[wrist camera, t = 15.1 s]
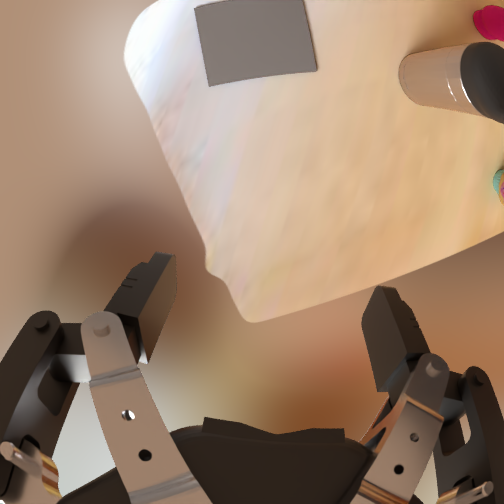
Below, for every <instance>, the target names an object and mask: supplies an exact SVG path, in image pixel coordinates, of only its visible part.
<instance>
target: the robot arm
mask: <svg viewBox="0 0 504 504" xmlns="http://www.w3.org/2000/svg"><path fill="white" fill-rule="evenodd" d="M399 80H400V84H401V86H402V89H403V90H404V92H405V94H406V95H407V96H408V97H409V98H410V99H411V100H412V101H414V102H415V103H417V104H419V105H423V106H429V107H435V108H442V109H447V110H453V111H458V112H464V113H468V114H473V115H478V116H482V117H487V118H490V119H493V120H495V121H497V122H500V123H503V124H504V49H503V48H502V47H500V46H499V45H496V44H494V43H490V42H478V43H471V44H463V45H457V46H451V47H445V48H439V49H434V50H428V51H423V52H418V53H414V54H411V55H408V56H407V57H405V58H404V59H403V61H402V62H401V64H400V67H399ZM176 290H177V278H176V256H175V255H174V254H168V253H162V252H155V254H154V255H153V257H152V258H151V260H150V261H149V263H143V262H141V263H140V264H138V265H137V266H135V267H134V268H132V269H131V271H130V272H129V274H128V275H127V277H126V279H124V281H123V282H122V284H121V286H120V287H119V288H118V290H117V291H116V293H115V294H114V296H113V297H112V299H111V300H110V302H109V303H108V305H107V306H106V308H105V309H104V311H101V312H96V313H93V314H91V315H89V316H88V317H87V318H86V319H85V320H84V321H83V323H61V322H60V319H59V317H58V316H57V314H56V313H54V312H52V311H40V312H37V313H35V314H34V315H32V316H31V317H30V318H29V319H28V320H27V322H26V323H25V325H24V326H23V328H22V329H21V331H20V332H19V334H18V335H17V337H16V339H15V340H14V341H13V343H12V345H11V346H10V348H9V350H8V351H7V353H6V354H5V356H4V357H3V359H2V361H1V363H0V502H2V503H5V504H423V502H422V501H421V500H420V499H419V498H417V496H416V495H414V494H413V493H414V491H415V489H416V487H417V485H418V483H419V481H420V479H421V477H422V475H423V472H424V470H425V468H426V466H427V463H428V461H429V459H430V456H431V454H432V451H433V455H434V461H435V469H436V477H437V486H438V496H439V498H438V500H437V502H436V504H504V419H503V416H502V413H501V410H500V407H499V404H498V401H497V398H496V396H495V393H494V390H493V387H492V385H491V382H490V380H489V377H488V376H487V374H486V373H485V372H484V371H483V370H482V369H480V368H479V367H475V366H472V367H469V368H468V369H467V370H466V371H465V372H464V374H459V373H456V372H452V371H449V367H448V365H447V363H446V362H445V361H444V360H443V359H442V358H441V357H439V356H438V355H436V354H432V353H431V352H430V350H429V348H428V345H427V343H426V340H425V338H424V336H423V334H422V331H421V329H420V328H419V325H418V322H417V321H416V318H415V316H414V313H413V311H412V309H411V308H410V307H409V306H408V305H407V304H406V303H405V302H404V301H402V300H401V298H400V296H399V294H398V292H397V290H396V288H394V287H386V286H377V287H376V288H375V290H374V292H373V294H372V296H371V298H370V301H369V303H368V305H367V307H366V309H365V311H364V313H363V317H362V330H363V334H364V338H365V342H366V345H367V350H368V354H369V357H370V362H371V366H372V370H373V374H374V379H375V383H376V388H377V392H388V393H389V397H388V398H387V399H386V400H385V402H384V404H383V405H382V407H381V409H380V411H379V413H378V414H377V416H376V418H375V419H374V421H373V423H372V425H371V426H370V428H369V429H368V431H367V432H366V434H365V435H364V437H363V438H362V439H361V440H360V441H359V442H356V441H354V440H352V439H349V438H345V434H344V428H342V429H320V428H318V429H317V428H312V429H306V430H301V431H296V432H291V433H284V434H272V433H269V432H266V431H263V430H260V429H257V428H254V427H251V426H248V425H246V424H243V423H239V422H233V421H226V420H220V419H213V418H208V417H205V418H204V422H203V425H196V426H189V427H184V428H180V429H177V430H175V431H172V432H170V433H169V432H168V430H167V428H166V426H165V424H164V422H163V420H162V418H161V416H160V414H159V412H158V409H157V407H156V405H155V403H154V401H153V399H152V396H151V394H150V392H149V390H148V387H147V385H146V383H145V380H144V378H143V376H142V373H141V371H140V369H139V368H138V367H137V364H138V362H142V363H146V364H148V363H149V360H150V358H151V355H152V353H153V350H154V348H155V345H156V343H157V340H158V338H159V336H160V333H161V331H162V328H163V326H164V324H165V321H166V319H167V317H168V314H169V312H170V310H171V307H172V305H173V303H174V300H175V296H176ZM80 382H88V383H89V386H90V390H91V394H92V398H93V402H94V405H95V408H96V412H97V415H98V418H99V421H100V424H101V427H102V430H103V433H104V436H105V439H106V441H107V444H108V447H109V450H110V452H111V455H112V457H113V460H114V462H115V465H116V467H115V468H113V469H111V470H110V471H108V472H106V473H105V474H103V475H101V476H100V477H98V478H96V479H95V480H92V481H91V482H89V483H87V484H85V485H84V486H82V487H80V488H78V489H76V490H74V491H72V492H70V493H68V494H67V495H65V496H64V497H62V496H61V494H60V492H59V488H58V477H59V475H58V469H57V467H56V465H55V463H54V462H53V460H52V456H53V453H54V449H55V446H56V444H57V441H58V438H59V435H60V432H61V429H62V427H63V424H64V422H65V419H66V416H67V414H68V411H69V409H70V406H71V404H72V401H73V399H74V396H75V394H76V391H77V389H78V387H79V384H80ZM464 414H466V415H467V418H468V422H469V426H470V430H471V436H470V440H469V441H468V442H467V443H466V444H465V441H464V437H463V432H462V428H461V424H460V420H459V419H460V418H461V417H462V416H464Z"/></svg>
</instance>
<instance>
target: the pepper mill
mask: <svg viewBox="0 0 504 504" xmlns="http://www.w3.org/2000/svg"><path fill="white" fill-rule="evenodd" d="M473 20H474V23H475V26H476V28H477V30H478V31H479V33H480V34H481V35H482V36H483V37H485V38H486V39H489V40H495V39H498V40H500V41H504V8H501V7H499V6H494V5H489V6H486V7H484V9H483V10H478V11H476V12H475V13H474V15H473Z"/></svg>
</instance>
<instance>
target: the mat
mask: <svg viewBox="0 0 504 504" xmlns="http://www.w3.org/2000/svg"><path fill="white" fill-rule="evenodd" d="M194 11H195V16H196V21H197V27H198V32H199V37H200V43H201V48H202V53H203V58H204V64H205V69H206V74H207V79H208V84H209V87H210V86H215V85H220V84H224V83H230V82H235V81H241V80H246V79H253V78H259V77H266V76H274V75H283V74H292V73H303V72H316V71H317V70H316V64H315V58H314V53H313V47H312V42H311V37H310V32H309V28H308V23H307V19H306V14H305V10H304V5H303V1H302V0H229V1H224V2H219V3H214V4H210V5H206V6H202V7H198V8H194Z"/></svg>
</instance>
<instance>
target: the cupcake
mask: <svg viewBox="0 0 504 504" xmlns="http://www.w3.org/2000/svg"><path fill="white" fill-rule="evenodd" d="M493 186H494V189H495V190H496V191H497V193H498V194H499V198H500V201H501V203H502V204H503V205H504V170H499V171H497V173H496V174H495V176H494V179H493Z"/></svg>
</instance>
